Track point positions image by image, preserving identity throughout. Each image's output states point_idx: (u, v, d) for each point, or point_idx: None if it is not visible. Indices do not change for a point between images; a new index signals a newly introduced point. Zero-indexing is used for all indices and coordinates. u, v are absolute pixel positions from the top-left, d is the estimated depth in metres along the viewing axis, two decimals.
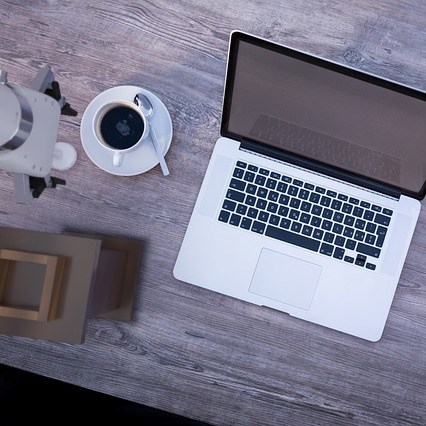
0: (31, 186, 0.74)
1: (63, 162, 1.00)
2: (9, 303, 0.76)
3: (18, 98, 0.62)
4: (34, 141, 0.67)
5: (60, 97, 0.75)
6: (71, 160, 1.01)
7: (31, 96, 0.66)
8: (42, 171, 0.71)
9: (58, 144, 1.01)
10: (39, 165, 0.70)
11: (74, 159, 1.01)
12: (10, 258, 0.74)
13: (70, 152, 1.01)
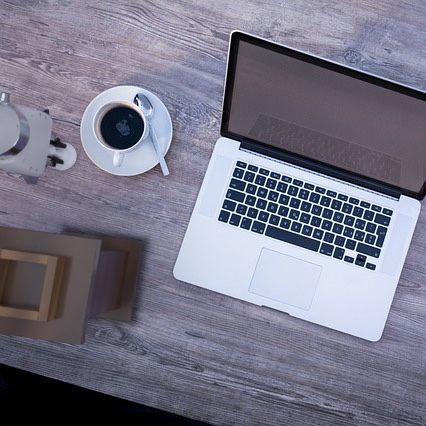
0: None
1: None
2: (9, 303, 0.76)
3: (18, 115, 0.79)
4: (30, 148, 0.85)
5: None
6: (71, 160, 1.01)
7: (28, 113, 0.84)
8: (37, 172, 0.89)
9: None
10: (34, 167, 0.88)
11: (74, 159, 1.01)
12: (10, 258, 0.74)
13: (70, 152, 1.01)
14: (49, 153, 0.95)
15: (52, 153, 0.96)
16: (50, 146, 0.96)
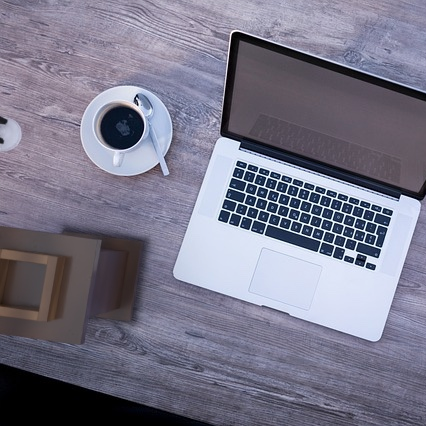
0: None
1: (4, 141, 0.82)
2: (9, 303, 0.76)
3: None
4: None
5: None
6: (14, 139, 0.82)
7: None
8: None
9: None
10: None
11: (18, 138, 0.82)
12: (10, 258, 0.74)
13: (14, 130, 0.82)
14: None
15: None
16: None
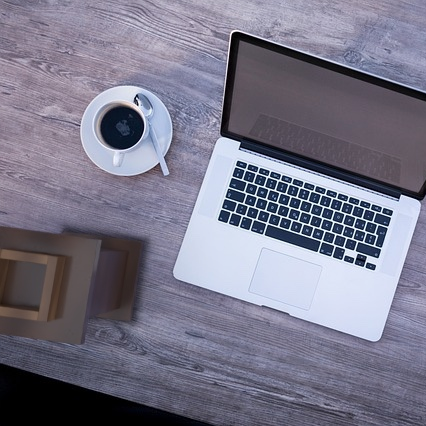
0: None
1: None
2: (9, 303, 0.76)
3: None
4: None
5: None
6: None
7: None
8: None
9: None
10: None
11: None
12: (10, 258, 0.74)
13: None
14: None
15: None
16: None
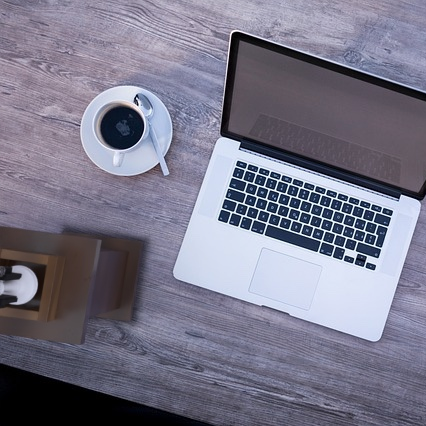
0: None
1: (18, 295, 0.72)
2: None
3: None
4: None
5: None
6: (30, 292, 0.73)
7: None
8: None
9: (12, 270, 0.73)
10: None
11: (34, 290, 0.73)
12: (10, 258, 0.74)
13: (29, 281, 0.72)
14: None
15: (0, 292, 0.68)
16: None
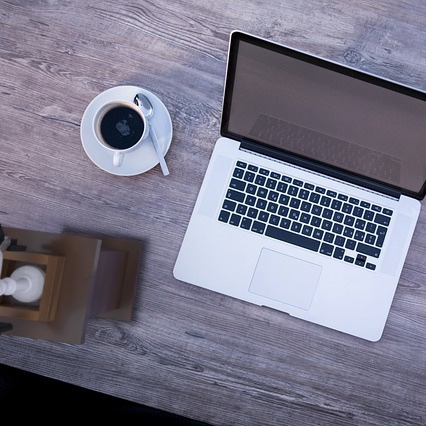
0: None
1: (29, 294, 0.75)
2: (9, 303, 0.76)
3: None
4: None
5: (3, 239, 0.66)
6: (40, 290, 0.75)
7: None
8: None
9: (23, 269, 0.75)
10: None
11: None
12: (10, 258, 0.74)
13: (40, 280, 0.75)
14: (8, 291, 0.70)
15: (12, 291, 0.71)
16: (10, 281, 0.70)
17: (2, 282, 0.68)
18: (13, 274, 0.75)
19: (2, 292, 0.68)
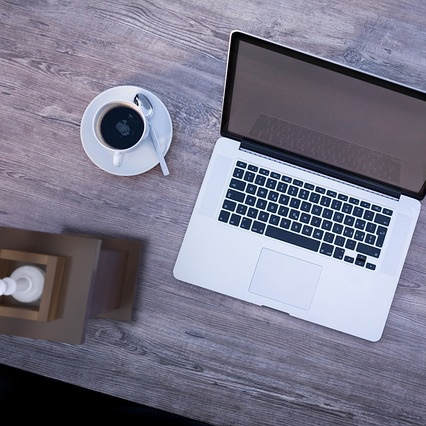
0: None
1: (29, 294, 0.75)
2: (9, 303, 0.76)
3: None
4: None
5: None
6: (40, 290, 0.75)
7: None
8: None
9: (23, 269, 0.75)
10: None
11: None
12: (10, 258, 0.74)
13: (40, 280, 0.75)
14: (8, 291, 0.70)
15: (12, 291, 0.71)
16: (9, 281, 0.70)
17: (2, 282, 0.68)
18: (13, 274, 0.75)
19: (2, 292, 0.68)
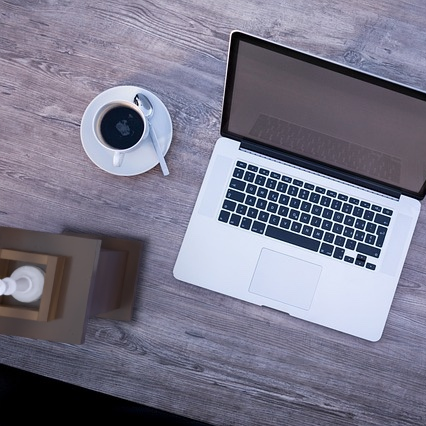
0: None
1: (29, 294, 0.75)
2: (9, 303, 0.76)
3: None
4: None
5: None
6: (40, 290, 0.75)
7: None
8: None
9: (23, 269, 0.75)
10: None
11: None
12: (10, 258, 0.74)
13: (40, 280, 0.75)
14: (8, 291, 0.70)
15: (12, 291, 0.71)
16: (9, 281, 0.70)
17: (2, 282, 0.68)
18: (13, 274, 0.75)
19: (2, 292, 0.68)
